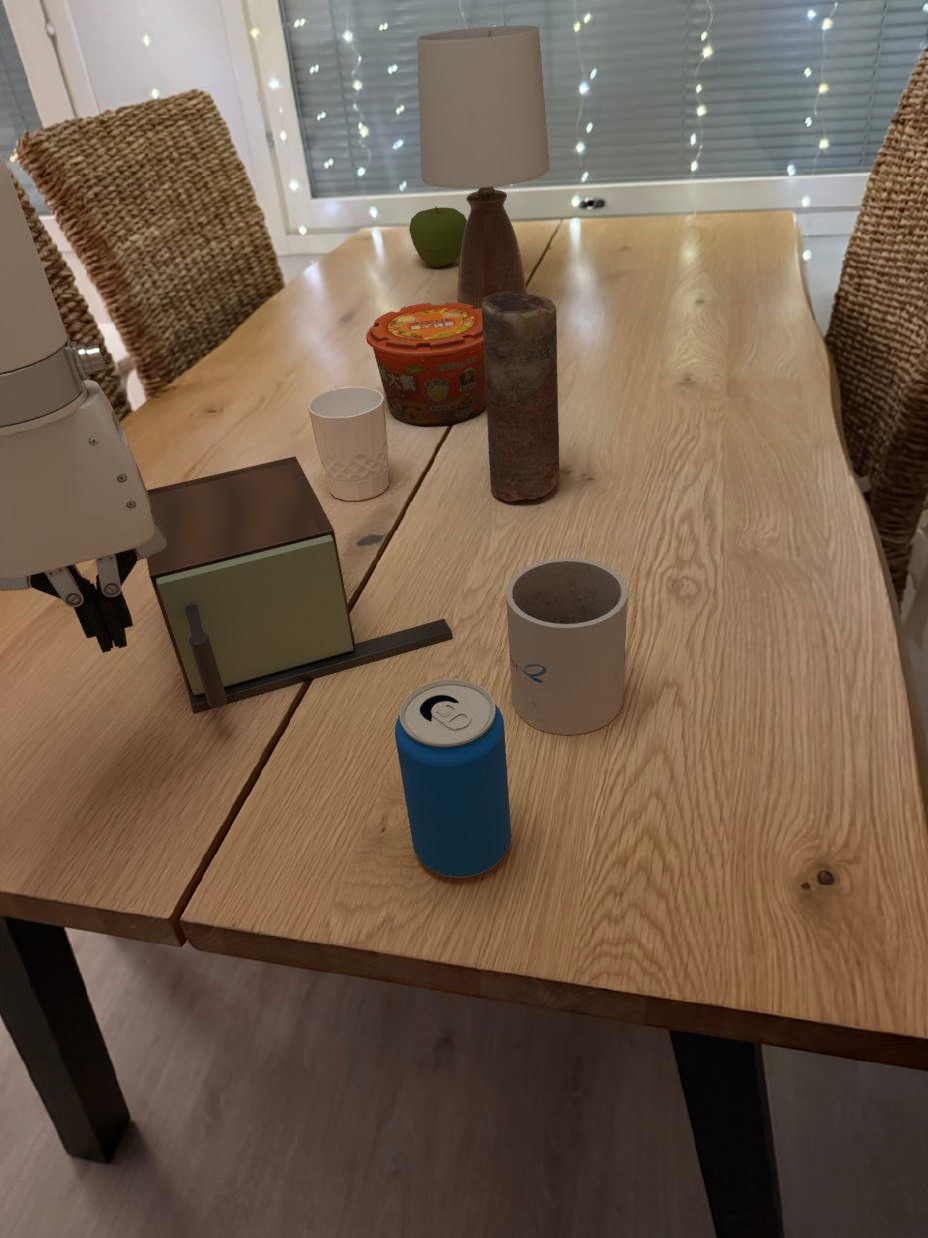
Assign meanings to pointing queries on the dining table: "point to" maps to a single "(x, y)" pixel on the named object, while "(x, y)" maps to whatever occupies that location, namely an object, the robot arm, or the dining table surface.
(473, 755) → the beverage can
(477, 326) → the food container
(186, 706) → the dining table surface
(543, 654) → the mug
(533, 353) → the candle
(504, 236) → the lamp
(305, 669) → the cabinet
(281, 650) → the door
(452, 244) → the apple
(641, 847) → the dining table surface
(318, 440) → the white cup
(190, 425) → the dining table surface
